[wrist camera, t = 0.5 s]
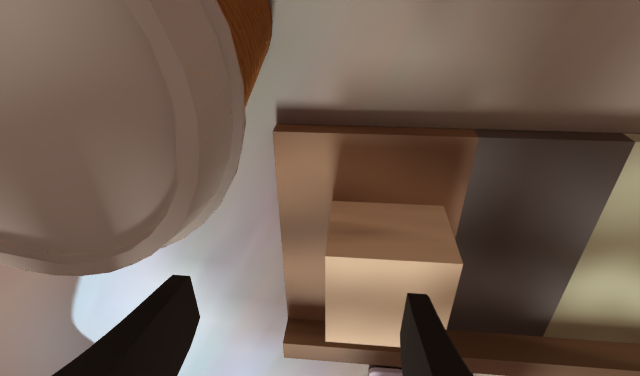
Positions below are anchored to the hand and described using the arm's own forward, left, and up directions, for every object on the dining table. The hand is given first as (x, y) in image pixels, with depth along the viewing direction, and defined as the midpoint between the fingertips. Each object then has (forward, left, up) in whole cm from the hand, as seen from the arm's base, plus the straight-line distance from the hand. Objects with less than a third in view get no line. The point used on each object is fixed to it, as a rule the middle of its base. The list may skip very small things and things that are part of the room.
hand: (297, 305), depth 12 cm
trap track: (-4, -14, -10) cm, 17 cm away
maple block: (-4, -4, -9) cm, 10 cm away
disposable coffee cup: (+8, +5, -10) cm, 14 cm away
